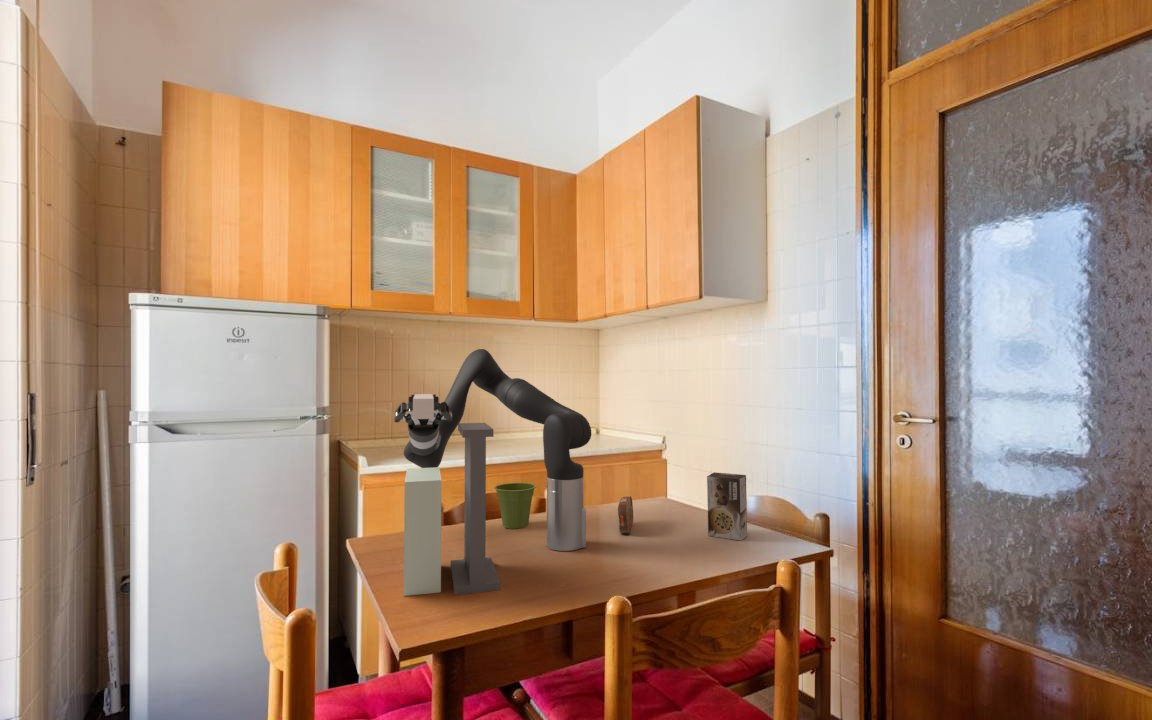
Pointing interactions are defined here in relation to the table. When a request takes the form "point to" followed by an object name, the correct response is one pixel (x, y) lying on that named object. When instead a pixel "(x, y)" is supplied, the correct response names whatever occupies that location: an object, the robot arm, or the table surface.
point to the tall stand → (474, 517)
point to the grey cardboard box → (727, 506)
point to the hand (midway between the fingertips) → (423, 398)
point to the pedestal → (422, 531)
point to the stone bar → (423, 406)
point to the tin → (625, 514)
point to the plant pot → (515, 503)
